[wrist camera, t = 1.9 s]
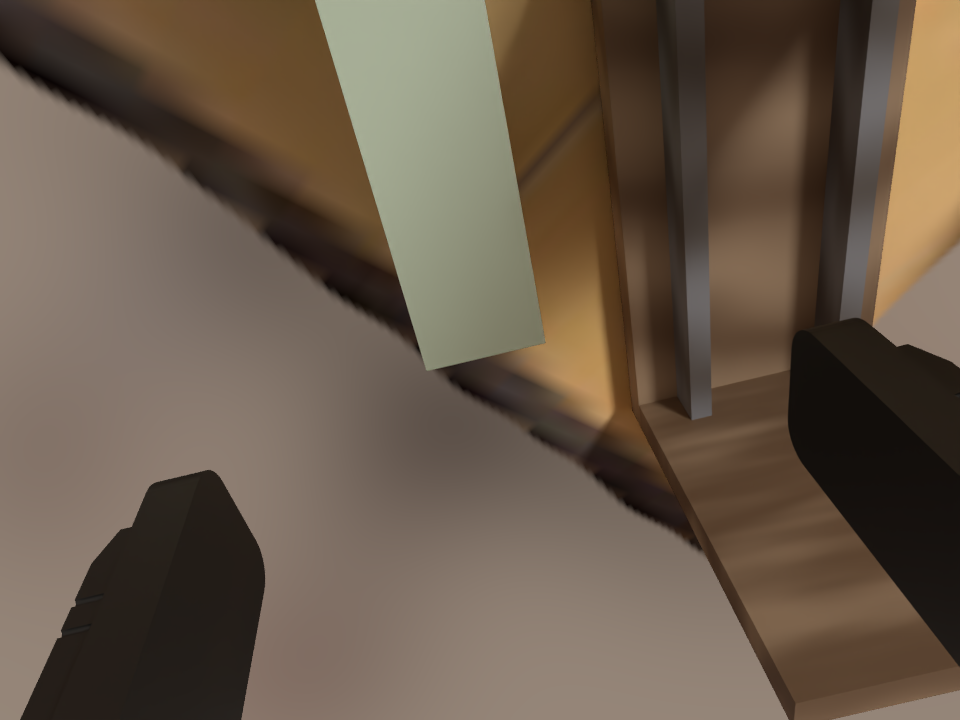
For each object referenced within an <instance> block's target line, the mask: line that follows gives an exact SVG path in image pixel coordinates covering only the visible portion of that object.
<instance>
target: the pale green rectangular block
mask: <svg viewBox="0 0 960 720" xmlns="http://www.w3.org/2000/svg"><path fill="white" fill-rule="evenodd" d="M315 2H316V5H317V9H318V12H319V15H320V19H321V22H322V25H323V29H324V32H325V35H326V39H327V42H328V45H329V49H330V52H331V55H332V59H333V62H334V65H335V69H336V72H337V75H338V79H339V82H340V85H341V89H342V92H343V95H344V99H345V102H346V105H347V108H348V112H349V115H350V118H351V122H352V125H353V128H354V132H355V135H356V138H357V142H358V145H359V148H360V152H361V155H362V158H363V162H364V165H365V168H366V172H367V175H368V178H369V182H370V185H371V188H372V192H373V195H374V198H375V202H376V205H377V208H378V211H379V215H380V218H381V221H382V225H383V228H384V231H385V235H386V238H387V241H388V245H389V248H390V251H391V255H392V258H393V261H394V265H395V268H396V271H397V275H398V278H399V281H400V285H401V288H402V291H403V295H404V298H405V301H406V305H407V308H408V311H409V315H410V318H411V321H412V324H413V328H414V331H415V334H416V338H417V341H418V344H419V348H420V351H421V354H422V358H423V361H424V364H425V368H426V371H429V370H434V369H438V368H442V367H446V366H451V365H455V364H459V363H463V362H467V361H472V360H476V359H480V358H484V357H489V356H493V355H497V354H501V353H506V352H510V351H514V350H518V349H522V348H527V347H531V346H535V345H539V344H544V343H546V342H545V337H544V331H543V325H542V320H541V314H540V308H539V303H538V297H537V292H536V286H535V280H534V275H533V269H532V263H531V258H530V252H529V247H528V241H527V235H526V230H525V224H524V218H523V213H522V207H521V202H520V196H519V190H518V185H517V179H516V173H515V168H514V162H513V157H512V151H511V145H510V140H509V134H508V128H507V123H506V117H505V112H504V106H503V100H502V95H501V89H500V83H499V78H498V72H497V67H496V61H495V55H494V50H493V44H492V38H491V33H490V27H489V22H488V16H487V10H486V5H485V0H315Z"/></svg>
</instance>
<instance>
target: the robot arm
mask: <svg viewBox="0 0 960 720" xmlns="http://www.w3.org/2000/svg"><path fill="white" fill-rule="evenodd" d="M788 429H789V434H790V438H791V441H792V444H793V447H794V449H795V452H796V454H797V456H798V458H799V459H800V461H801V463H802V464H803V465H804V467H805V468H806V469H807V471H808V472H809V473H810V474H811V476H812V477H813V478H814V480H815V481H816V482H817V484H818V485H819V486H820V487H821V489H822V490H823V491H824V493H825V494H826V495H827V496H828V498H829V499H830V500H831V502H832V503H833V504H834V505H835V507H836V508H837V509H838V511H839V512H840V513H841V515H842V516H843V517H844V518H845V520H846V521H847V522H848V524H849V525H850V526H851V527H852V529H853V530H854V531H855V533H856V534H857V535H858V537H859V538H860V539H861V540H862V542H863V543H864V544H865V546H866V547H867V548H868V549H869V551H870V552H871V553H872V555H873V556H874V557H875V558H876V560H877V561H878V562H879V564H880V565H881V566H882V568H883V569H884V570H885V571H886V573H887V574H888V575H889V577H890V578H891V579H892V580H893V582H894V583H895V584H896V586H897V587H898V588H899V590H900V591H901V592H902V593H903V595H904V596H905V597H906V599H907V600H908V601H909V602H910V604H911V605H912V606H913V608H914V609H915V610H916V611H917V613H918V614H919V615H920V617H921V618H922V619H923V621H924V622H925V623H926V624H927V626H928V627H929V628H930V630H931V631H932V632H933V633H934V635H935V636H936V637H937V639H938V640H939V641H940V642H941V644H942V645H943V646H944V648H945V649H946V650H947V652H948V653H949V654H950V655H951V657H952V658H953V659H954V661H955V662H956V663H957V664H958V666H959V667H960V368H959V367H957V366H956V365H955V364H953V363H952V362H950V361H948V360H946V359H943V358H941V357H938V356H936V355H933V354H931V353H928V352H926V351H923V350H921V349H919V348H916V347H914V346H911V345H909V344H907V345H903V346H899V347H896V346H895V345H894V344H893V343H892V342H890V341H889V340H888V339H887V338H885V337H884V336H883V335H882V334H881V333H879V332H878V331H877V330H876V329H875V328H873V327H872V326H871V325H870V324H869V323H867V322H866V321H864V320H863V319H860V318H850V319H846V320H842V321H838V322H833V323H829V324H825V325H821V326H817V327H812V328H808V329H804V330H800V331H798V332H797V333H796V334H795V336H794V338H793V341H792V349H791V367H790V385H789V403H788ZM264 588H265V570H264V563H263V558H262V554H261V551H260V548H259V546H258V544H257V542H256V540H255V538H254V536H253V535H252V533H251V531H250V529H249V528H248V526H247V524H246V522H245V520H244V519H243V517H242V515H241V513H240V512H239V510H238V508H237V506H236V505H235V503H234V501H233V499H232V498H231V496H230V494H229V492H228V490H227V489H226V487H225V485H224V483H223V482H222V480H221V478H220V477H219V476H218V475H217V474H216V473H215V472H213V471H211V470H206V471H202V472H198V473H194V474H189V475H186V476H181V477H177V478H173V479H168V480H164V481H160V482H156V483H154V484H152V485H151V486H150V487H149V489H148V490H147V492H146V494H145V497H144V499H143V502H142V504H141V506H140V509H139V511H138V513H137V516H136V518H135V521H134V523H133V526H132V527H130V528H126V529H121V530H120V531H119V532H118V533H117V534H116V536H115V537H114V538H113V539H112V540H111V541H110V543H109V544H108V545H107V546H106V547H105V548H104V550H103V551H102V552H101V553H100V554H99V556H98V557H97V558H96V559H95V560H94V561H93V563H92V564H91V566H90V568H89V570H88V573H87V575H86V577H85V579H84V581H83V583H82V586H81V588H80V590H79V592H78V594H77V596H76V599H75V601H76V606H75V607H72V608H71V610H70V612H69V614H68V616H67V619H66V621H65V623H64V625H63V627H62V630H61V632H62V637H61V638H58V639H57V641H56V643H55V645H54V647H53V649H52V651H51V653H50V656H49V658H48V660H47V662H46V664H45V667H44V669H43V671H42V673H41V675H40V678H39V680H38V682H37V684H36V687H35V688H34V691H33V693H32V695H31V697H30V699H29V702H28V704H27V706H26V708H25V710H24V713H23V715H22V717H21V719H20V720H241V717H242V712H243V706H244V701H245V695H246V689H247V684H248V678H249V672H250V667H251V661H252V656H253V650H254V645H255V639H256V633H257V628H258V622H259V617H260V611H261V606H262V600H263V594H264Z"/></svg>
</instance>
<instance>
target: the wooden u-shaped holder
mask: <svg viewBox="0 0 960 720" xmlns="http://www.w3.org/2000/svg"><path fill="white" fill-rule="evenodd" d="M591 4H592V14H593V24H594V34H595V44H596V54H597V64H598V73H599V83H600V93H601V103H602V113H603V123H604V133H605V143H606V153H607V163H608V173H609V183H610V193H611V203H612V213H613V222H614V232H615V242H616V252H617V262H618V272H619V282H620V292H621V302H622V312H623V322H624V332H625V342H626V352H627V361H628V371H629V381H630V391H631V401H632V411H633V413H634V415H635V417H636V419H637V420H638V422H639V424H640V426H641V428H642V430H643V432H644V434H645V436H646V438H647V440H648V442H649V444H650V446H651V448H652V450H653V452H654V454H655V456H656V458H657V460H658V462H659V464H660V466H661V468H662V470H663V472H664V474H665V476H666V478H667V480H668V482H669V484H670V486H671V488H672V490H673V492H674V494H675V496H676V498H677V500H678V501H679V503H680V505H681V507H682V509H683V511H684V513H685V515H686V517H687V519H688V521H689V523H690V525H691V527H692V529H693V531H694V533H695V535H696V537H697V539H698V541H699V543H700V545H701V547H702V549H703V551H704V553H705V555H706V557H707V559H708V561H709V563H710V565H711V567H712V568H713V571H714V573H715V574H716V576H717V579H718V580H719V582H720V584H721V586H722V588H723V590H724V592H725V594H726V596H727V598H728V600H729V602H730V604H731V606H732V608H733V610H734V612H735V614H736V616H737V618H738V620H739V622H740V623H741V626H742V628H743V630H744V632H745V634H746V636H747V638H748V639H749V642H750V644H751V646H752V648H753V650H754V652H755V653H756V656H757V657H758V659H759V661H760V663H761V665H762V667H763V669H764V671H765V673H766V675H767V677H768V679H769V681H770V683H771V685H772V687H773V689H774V691H775V693H776V695H777V697H778V699H779V701H780V703H781V705H782V707H783V709H784V711H785V713H786V715H787V717H788V719H789V720H831V719H836V718H840V717H844V716H849V715H853V714H857V713H862V712H866V711H870V710H875V709H879V708H883V707H888V706H892V705H897V704H901V703H905V702H909V701H914V700H918V699H923V698H927V697H932V696H936V695H940V694H945V693H949V692H953V691H957V690H960V667H959V666H958V664H957V663H956V662H955V661H954V659H953V658H952V657H951V655H950V654H949V653H948V652H947V650H946V649H945V648H944V646H943V645H942V644H941V642H940V641H939V640H938V639H937V637H936V636H935V635H934V633H933V632H932V631H931V630H930V628H929V627H928V626H927V624H926V623H925V622H924V621H923V619H922V618H921V617H920V615H919V614H918V613H917V611H916V610H915V609H914V608H913V606H912V605H911V604H910V602H909V601H908V600H907V599H906V597H905V596H904V595H903V593H902V592H901V591H900V590H899V588H898V587H897V586H896V584H895V583H894V582H893V580H892V579H891V578H890V577H889V575H888V574H887V573H886V571H885V570H884V569H883V568H882V566H881V565H880V564H879V562H878V561H877V560H876V558H875V557H874V556H873V555H872V553H871V552H870V551H869V549H868V548H867V547H866V546H865V544H864V543H863V542H862V540H861V539H860V538H859V537H858V535H857V534H856V533H855V531H854V530H853V529H852V527H851V526H850V525H849V524H848V522H847V521H846V520H845V518H844V517H843V516H842V515H841V513H840V512H839V511H838V509H837V508H836V507H835V505H834V504H833V503H832V502H831V500H830V499H829V498H828V496H827V495H826V494H825V493H824V491H823V490H822V489H821V487H820V486H819V485H818V484H817V482H816V481H815V480H814V478H813V477H812V476H811V474H810V473H809V472H808V471H807V469H806V468H805V467H804V465H803V464H802V463H801V461H800V459H799V458H798V456H797V454H796V452H795V449H794V447H793V444H792V441H791V438H790V434H789V429H788V403H789V385H790V367H791V349H792V341H793V338H794V336H795V334H796V333H797V332H798V331H800V330H804V329H808V328H812V327H817V326H821V325H825V324H829V323H833V322H838V321H842V320H846V319H850V318H860V319H863V320H864V321H866V322H867V323H869V324H870V325H871V326H872V325H873V317H874V310H875V302H876V295H877V288H878V280H879V273H880V265H881V258H882V250H883V243H884V236H885V228H886V221H887V213H888V206H889V199H890V191H891V184H892V176H893V169H894V162H895V154H896V147H897V139H898V132H899V125H900V117H901V110H902V102H903V95H904V87H905V80H906V73H907V65H908V58H909V50H910V43H911V36H912V28H913V21H914V13H915V6H916V0H591Z"/></svg>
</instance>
